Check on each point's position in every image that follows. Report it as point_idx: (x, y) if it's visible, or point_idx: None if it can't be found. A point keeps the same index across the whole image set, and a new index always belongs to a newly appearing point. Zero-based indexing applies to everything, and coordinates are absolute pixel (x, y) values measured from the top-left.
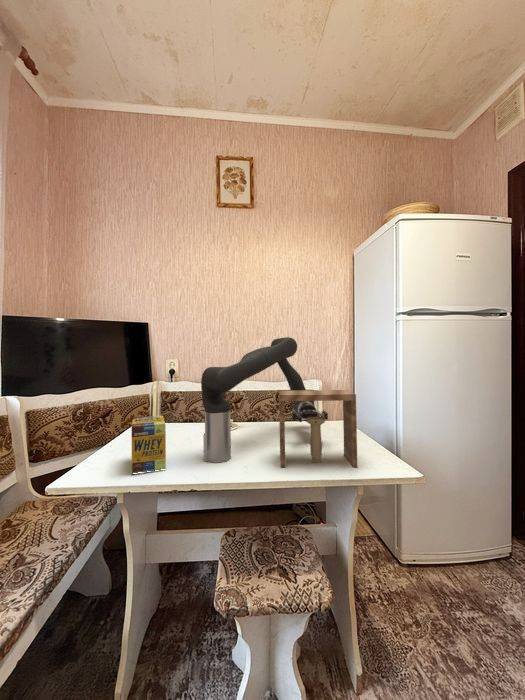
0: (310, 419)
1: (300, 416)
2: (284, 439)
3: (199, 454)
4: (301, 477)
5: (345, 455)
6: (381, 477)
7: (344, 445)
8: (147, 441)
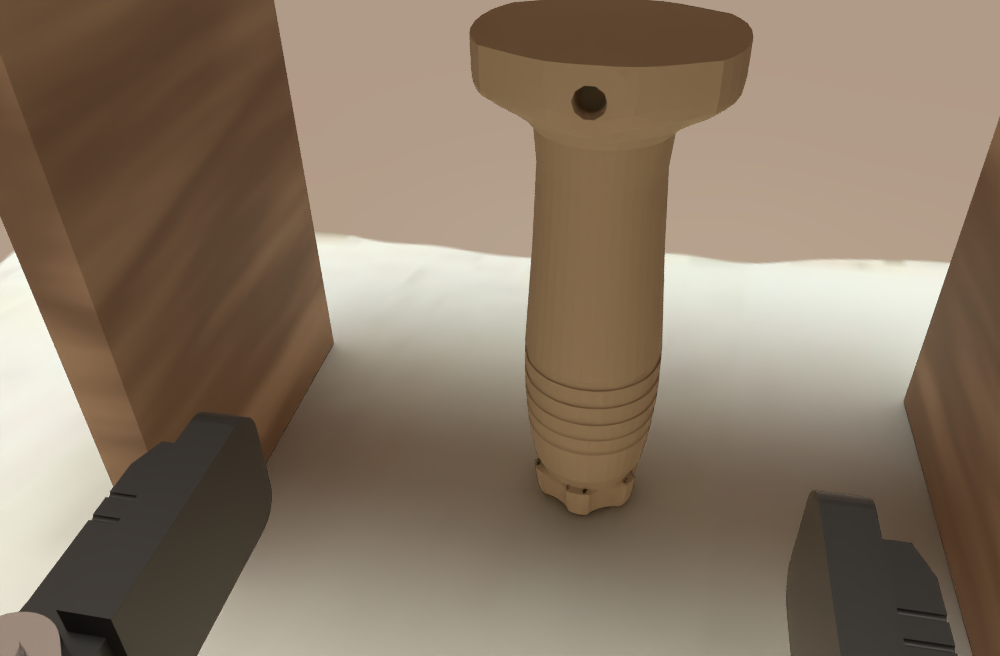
0: (698, 7)
1: (849, 511)
2: (987, 167)
3: None
4: (763, 280)
5: None
6: None
7: None
8: None
